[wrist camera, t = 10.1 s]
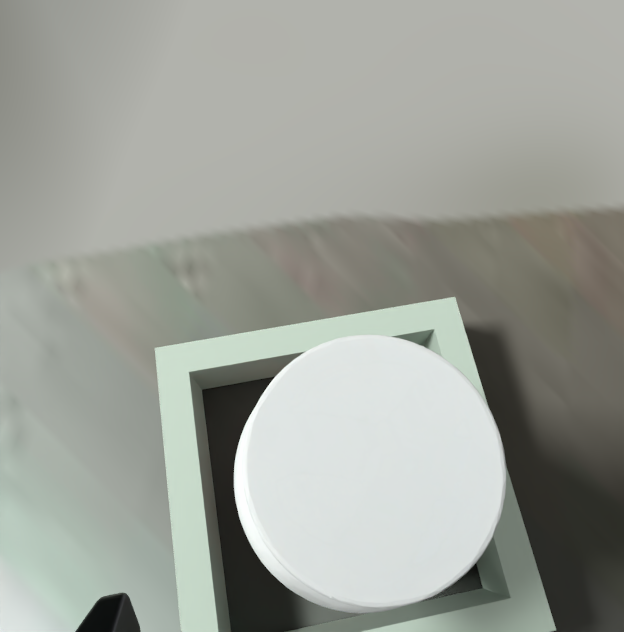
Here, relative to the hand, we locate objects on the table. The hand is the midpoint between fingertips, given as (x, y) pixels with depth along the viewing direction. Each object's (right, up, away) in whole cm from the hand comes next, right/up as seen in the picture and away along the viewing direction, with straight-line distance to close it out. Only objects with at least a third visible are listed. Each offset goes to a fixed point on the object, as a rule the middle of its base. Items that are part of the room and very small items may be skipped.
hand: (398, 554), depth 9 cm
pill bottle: (-1, -2, +10) cm, 10 cm away
